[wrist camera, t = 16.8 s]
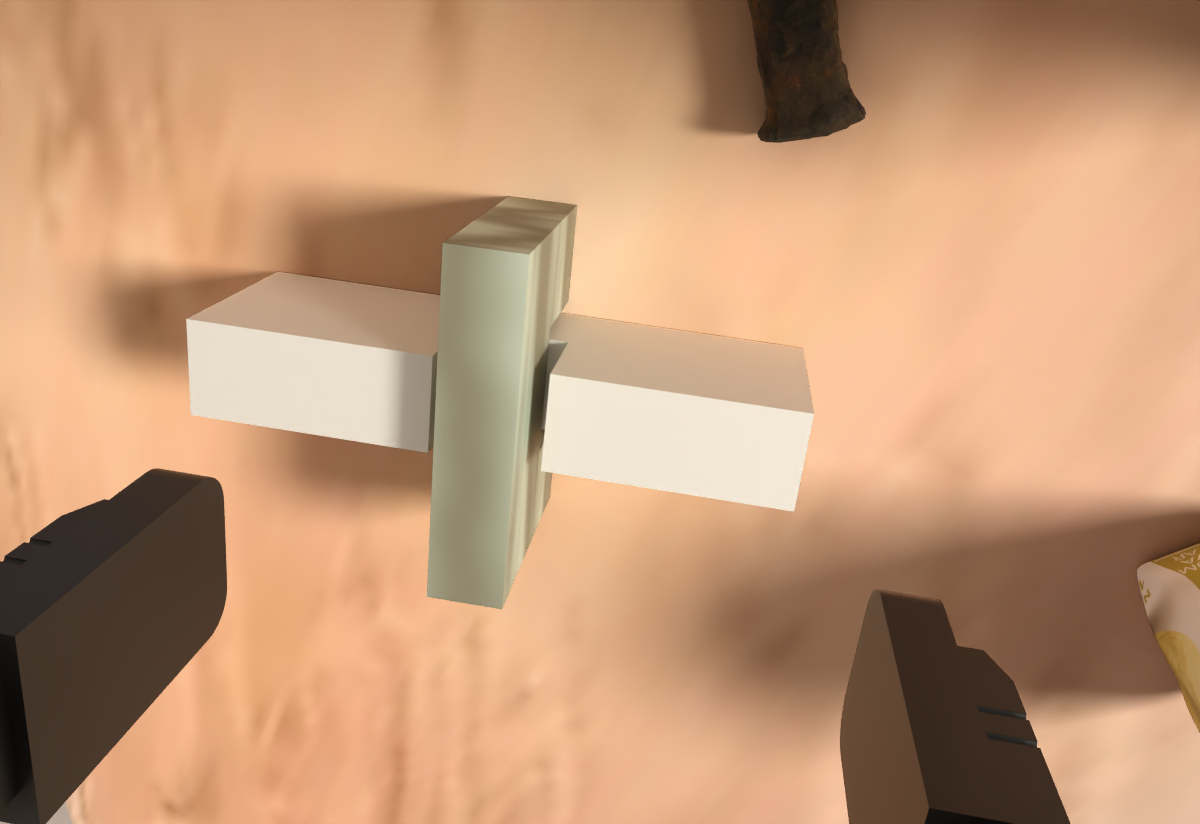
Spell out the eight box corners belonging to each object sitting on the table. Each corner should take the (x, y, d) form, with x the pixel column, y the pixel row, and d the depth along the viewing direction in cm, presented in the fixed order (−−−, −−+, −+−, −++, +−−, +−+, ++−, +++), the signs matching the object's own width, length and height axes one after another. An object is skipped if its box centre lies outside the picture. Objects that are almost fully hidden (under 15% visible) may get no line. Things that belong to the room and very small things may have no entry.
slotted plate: (577, 205, 43) (529, 254, 33) (549, 496, 48) (501, 609, 39) (508, 196, 43) (442, 242, 34) (488, 487, 48) (426, 596, 39)
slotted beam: (803, 348, 43) (814, 413, 36) (786, 431, 45) (794, 511, 38) (277, 271, 46) (186, 318, 38) (278, 354, 47) (190, 414, 40)
